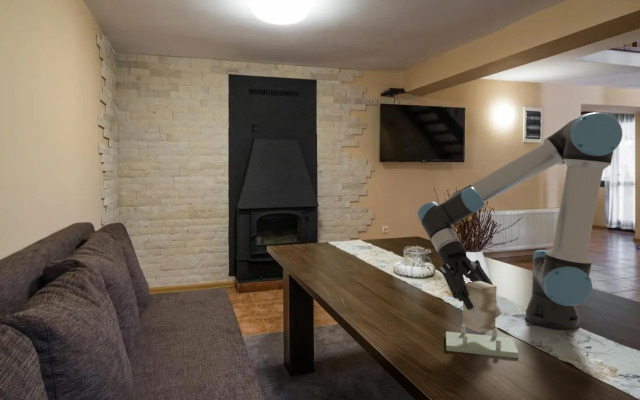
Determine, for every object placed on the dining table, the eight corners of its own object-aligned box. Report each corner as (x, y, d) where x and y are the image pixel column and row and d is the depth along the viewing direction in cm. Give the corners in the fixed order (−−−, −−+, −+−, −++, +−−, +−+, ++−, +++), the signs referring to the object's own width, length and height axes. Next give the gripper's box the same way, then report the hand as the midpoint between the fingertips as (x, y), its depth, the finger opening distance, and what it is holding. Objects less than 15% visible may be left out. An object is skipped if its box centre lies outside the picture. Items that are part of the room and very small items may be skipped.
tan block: (478, 321, 119) (479, 280, 119) (495, 329, 114) (496, 286, 113) (462, 324, 117) (463, 283, 116) (478, 332, 112) (479, 288, 111)
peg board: (512, 343, 118) (512, 329, 118) (518, 358, 108) (518, 343, 108) (445, 336, 123) (446, 323, 123) (446, 350, 114) (446, 336, 113)
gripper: (466, 251, 132) (506, 318, 118) (417, 256, 124) (454, 329, 111) (479, 237, 127) (523, 306, 113) (429, 242, 119) (469, 316, 105)
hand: (489, 317), depth 112 cm, fingers closed on tan block, 6 cm apart
